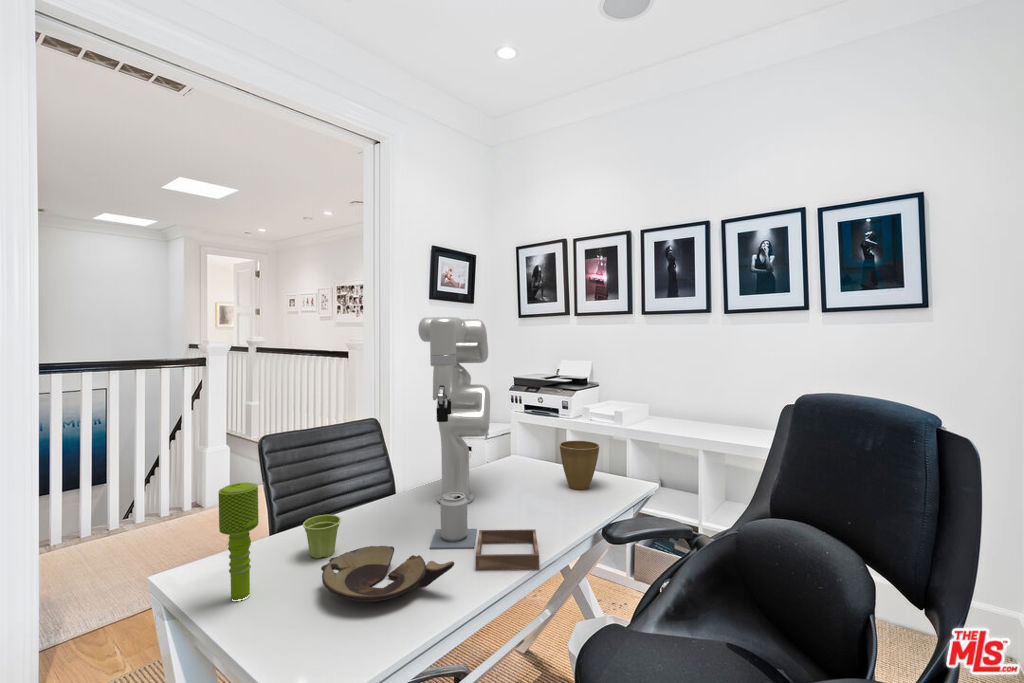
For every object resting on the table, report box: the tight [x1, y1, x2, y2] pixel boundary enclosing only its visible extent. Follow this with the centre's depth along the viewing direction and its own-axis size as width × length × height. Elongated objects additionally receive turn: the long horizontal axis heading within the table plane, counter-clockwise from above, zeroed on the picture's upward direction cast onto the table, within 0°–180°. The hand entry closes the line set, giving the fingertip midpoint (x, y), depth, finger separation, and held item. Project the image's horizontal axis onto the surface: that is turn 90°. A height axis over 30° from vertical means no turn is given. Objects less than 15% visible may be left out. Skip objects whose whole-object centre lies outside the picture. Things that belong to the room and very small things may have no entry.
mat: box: [429, 528, 478, 550], centre depth 137 cm, size 12×12×1 cm
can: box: [440, 492, 468, 541], centre depth 137 cm, size 8×8×12 cm
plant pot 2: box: [559, 440, 600, 491], centre depth 182 cm, size 15×15×16 cm
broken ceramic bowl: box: [320, 545, 455, 602], centre depth 110 cm, size 22×30×8 cm
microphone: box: [217, 482, 259, 600], centre depth 108 cm, size 8×8×25 cm
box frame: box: [475, 528, 540, 571], centre depth 127 cm, size 16×16×4 cm
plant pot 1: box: [302, 514, 342, 559], centre depth 129 cm, size 9×9×9 cm
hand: (444, 417), depth 144 cm, fingers open, 9 cm apart
